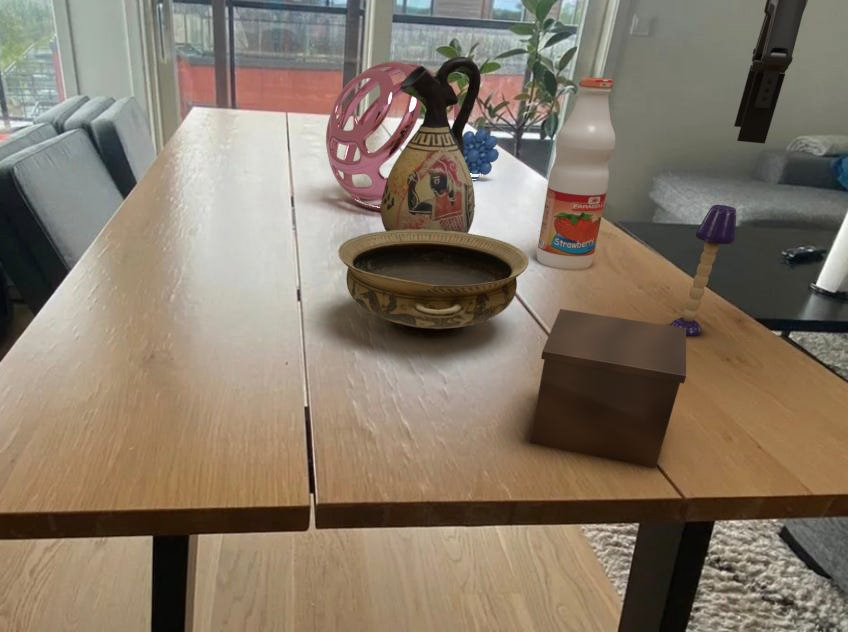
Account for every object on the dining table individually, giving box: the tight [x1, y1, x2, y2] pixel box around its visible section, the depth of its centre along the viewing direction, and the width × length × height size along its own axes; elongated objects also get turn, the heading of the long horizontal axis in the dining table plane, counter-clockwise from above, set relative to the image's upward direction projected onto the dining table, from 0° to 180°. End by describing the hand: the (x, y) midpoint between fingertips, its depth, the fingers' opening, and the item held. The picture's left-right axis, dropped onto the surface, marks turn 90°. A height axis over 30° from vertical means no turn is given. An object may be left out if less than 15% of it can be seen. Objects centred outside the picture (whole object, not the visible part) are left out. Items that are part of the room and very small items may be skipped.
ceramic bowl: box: [337, 229, 530, 338], centre depth 99 cm, size 30×24×10 cm
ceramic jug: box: [379, 56, 482, 233], centre depth 123 cm, size 17×15×30 cm
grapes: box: [462, 128, 500, 180], centre depth 185 cm, size 12×7×12 cm, turn 71°
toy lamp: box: [669, 204, 737, 338], centre depth 100 cm, size 5×5×17 cm
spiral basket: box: [325, 60, 461, 212], centre depth 154 cm, size 28×28×27 cm
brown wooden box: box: [529, 308, 687, 469], centre depth 76 cm, size 13×13×10 cm
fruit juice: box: [536, 76, 617, 271], centre depth 123 cm, size 9×9×28 cm
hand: (748, 134), depth 87 cm, fingers open, 13 cm apart
